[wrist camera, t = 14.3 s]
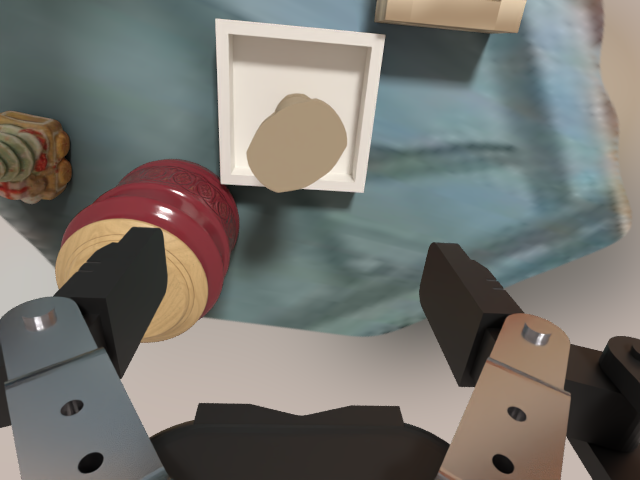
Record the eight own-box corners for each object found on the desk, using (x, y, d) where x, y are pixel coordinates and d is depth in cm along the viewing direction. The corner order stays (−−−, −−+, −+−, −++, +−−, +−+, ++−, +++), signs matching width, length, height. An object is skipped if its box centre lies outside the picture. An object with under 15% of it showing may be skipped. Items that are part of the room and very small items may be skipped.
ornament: (81, 192, 42) (22, 234, 33) (18, 185, 41) (-60, 226, 32) (70, 114, 38) (0, 137, 29) (1, 106, 37) (-91, 126, 28)
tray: (222, 20, 35) (215, 18, 32) (377, 35, 36) (385, 34, 33) (226, 173, 41) (220, 183, 38) (358, 181, 42) (363, 192, 39)
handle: (338, 111, 38) (361, 150, 25) (285, 149, 39) (278, 206, 26) (309, 66, 36) (317, 82, 23) (254, 108, 38) (231, 146, 24)
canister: (223, 145, 40) (176, 214, 24) (253, 255, 46) (230, 368, 30) (99, 166, 40) (-28, 248, 25) (144, 273, 46) (65, 393, 31)
